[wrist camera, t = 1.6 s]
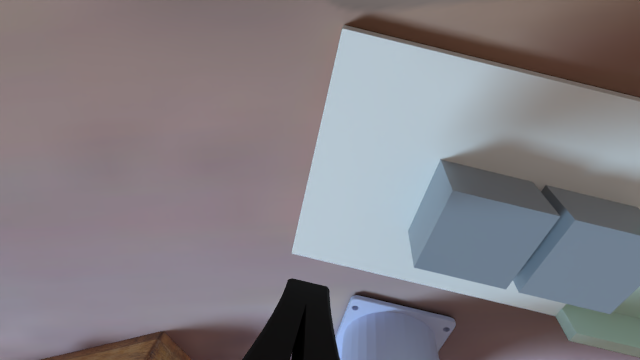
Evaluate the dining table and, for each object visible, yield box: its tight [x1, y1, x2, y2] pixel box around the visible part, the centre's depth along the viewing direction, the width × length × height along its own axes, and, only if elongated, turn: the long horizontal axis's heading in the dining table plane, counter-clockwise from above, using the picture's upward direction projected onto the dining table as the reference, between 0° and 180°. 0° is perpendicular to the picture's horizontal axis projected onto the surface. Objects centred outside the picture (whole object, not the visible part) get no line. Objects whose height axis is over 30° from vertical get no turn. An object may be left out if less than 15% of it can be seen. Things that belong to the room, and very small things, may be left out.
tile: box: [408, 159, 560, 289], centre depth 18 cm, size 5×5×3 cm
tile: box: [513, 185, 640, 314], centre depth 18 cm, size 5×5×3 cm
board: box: [292, 25, 640, 316], centre depth 20 cm, size 14×18×1 cm
